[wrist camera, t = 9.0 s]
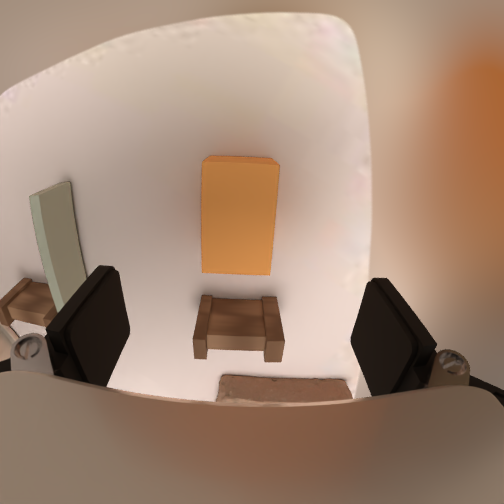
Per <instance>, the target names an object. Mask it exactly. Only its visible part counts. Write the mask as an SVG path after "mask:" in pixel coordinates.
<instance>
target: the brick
mask: <svg viewBox="0 0 504 504" xmlns="http://www.w3.org/2000/svg"><path fill="white" fill-rule="evenodd" d="M218 394H219V395H218V396H217V399H216V402H225V403H256V404H277V403H308V402H324V401H337V400H347V399H353V398H352V394H351V391H350V390H349V388H348V386H347V385H346V383H345V381H343V380H339V379H323V380H319V379H316V378H315V379H297V378H292V379H288V378H259V377H251V376H231V375H224V376H222V377H221V381H220V382H219V392H218Z"/></svg>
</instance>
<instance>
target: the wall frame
mask: <svg viewBox="0 0 504 504" xmlns="http://www.w3.org/2000/svg"><path fill="white" fill-rule="evenodd" d="M57 314H58V312H57V309H56V306H55V303H54V300H53V297H52V294H51V291H50V288H49V285H48V284H45V283H37V282H32V280H31V279H29V278H23V279H22V280H21V281H20V282H19V283H18V284H17V285H16V286H14V287H13V288H12V289H11V290H10V291H9V292H8V293H7V294H6V295H5V296H4V297H3V298H2V299H1V300H0V322H1V324H2V325H5V326H8V327H9V326H10V325H11V323H12V322H13V321H14V320H15V319H16V320H19V321H23V322H27V323H32V324H36V325H40V326H44V327H46V328H47V326H48V325H49V324H50V322H51V321H52V320H53V319H54V317H55V316H56V315H57ZM284 344H285V339H284V334H283V328H282V323H281V318H280V312H279V307H278V302H277V297H262V300H244V299H219V298H212V296H211V295H202V297H201V302H200V306H199V311H198V316H197V321H196V325H195V330H194V335H193V349H194V359H207V351H208V349H220V350H247V351H264V362H281V361H282V355H283V350H284Z"/></svg>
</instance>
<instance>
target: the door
mask: <svg viewBox="0 0 504 504" xmlns="http://www.w3.org/2000/svg"><path fill="white" fill-rule="evenodd" d="M29 200H30V207H31V213H32V218H33V224H34V229H35V234H36V239H37V243H38V247H39V252H40V256H41V260H42V264H43V267H44V271H45V275H46V278H47V281H48V285H49V288H50V291H51V294H52V297H53V300H54V303H55V306H56V309H57V312H59V311H60V310H61V309H62V307H63V306H64V305H65V304H66V303H67V301H68V300H69V299H70V298H71V297H72V295H73V294H74V293H75V292H76V291H77V290H78V288H79V287H80V286H81V285H82V284H83V283H84V281H85V280H86V279H87V278H86V274H85V270H84V265H83V261H82V256H81V251H80V246H79V241H78V236H77V230H76V224H75V217H74V211H73V203H72V195H71V187H70V182H63V183H59V184H56V185H54V186H52V187H49V188H47V189H44V190H42V191H40V192H37V193H35V194H33V195H31V196H29Z"/></svg>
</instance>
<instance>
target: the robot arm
mask: <svg viewBox="0 0 504 504" xmlns="http://www.w3.org/2000/svg"><path fill="white" fill-rule="evenodd" d="M46 332H47V335H46V336H45V337H43V336H42V335H40V334H37V333H31V334H26V335H24V336H21V337H20V338H19V337H18V336H17V335H16V334H15V332H14V331H13V330H12V329H11V328H10V327H8V326H5V325H2V324H1V322H0V504H504V390H502V389H500V388H498V387H496V386H493V385H491V384H489V383H487V382H484V381H482V380H480V379H478V378H475V377H473V376H471V375H470V365H469V363H468V361H467V360H466V358H465V357H464V356H463V355H461V354H460V353H458V352H456V351H454V350H450V349H445V350H440V351H439V352H438V353H437V352H436V351H435V348H436V346H437V343H436V342H435V340H434V339H433V338H432V336H431V335H430V333H429V332H428V330H427V329H426V328H425V326H424V325H423V324H422V322H421V321H420V320H419V318H418V317H417V316H416V314H415V313H414V311H412V309H411V308H410V306H409V305H408V304H407V302H406V301H405V300H404V298H403V297H402V296H401V295H400V293H399V292H398V291H397V290H396V288H395V287H394V286H393V284H392V283H391V282H390V281H389V280H388V279H387V278H373V279H372V280H371V281H369V282H368V283H367V285H366V288H365V292H364V295H363V299H362V302H361V306H360V309H359V312H358V316H357V319H356V322H355V325H354V328H353V331H352V335H351V345H352V348H353V350H354V353H355V355H356V358H357V360H358V363H359V365H360V367H361V370H362V372H363V375H364V377H365V380H366V383H367V385H368V388H369V390H370V392H371V395H372V397H365V398H356V399H347V400H337V401H324V402H308V403H277V404H256V403H225V402H209V401H197V400H186V399H177V398H168V397H161V396H153V395H147V394H140V393H134V392H129V391H123V390H118V389H113V388H108V387H106V386H107V384H108V382H109V379H110V377H111V375H112V372H113V370H114V368H115V366H116V363H117V361H118V359H119V357H120V354H121V352H122V350H123V348H124V346H125V344H126V341H127V339H128V337H129V335H130V325H129V321H128V316H127V312H126V307H125V302H124V297H123V292H122V286H121V281H120V275H119V272H118V271H117V270H115V268H114V267H113V266H103V265H99V266H98V267H97V268H96V269H95V270H94V271H93V272H92V274H91V275H90V276H89V277H88V278H87V279H86V280H85V281H84V283H83V284H82V285H81V286H80V287H79V288H78V290H77V291H76V292H75V293H74V294H73V295H72V297H71V298H70V299H69V300H68V301H67V303H66V304H65V305H64V306H63V307H62V309H61V310H60V311H59V312H58V314H57V315H56V316H55V317H54V319H53V320H52V321H51V322H50V324H49V325H48V326H47V328H46Z"/></svg>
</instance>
